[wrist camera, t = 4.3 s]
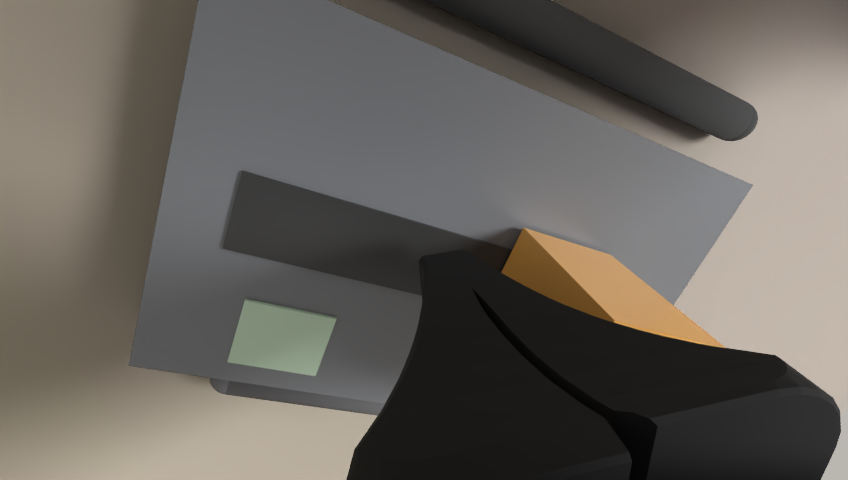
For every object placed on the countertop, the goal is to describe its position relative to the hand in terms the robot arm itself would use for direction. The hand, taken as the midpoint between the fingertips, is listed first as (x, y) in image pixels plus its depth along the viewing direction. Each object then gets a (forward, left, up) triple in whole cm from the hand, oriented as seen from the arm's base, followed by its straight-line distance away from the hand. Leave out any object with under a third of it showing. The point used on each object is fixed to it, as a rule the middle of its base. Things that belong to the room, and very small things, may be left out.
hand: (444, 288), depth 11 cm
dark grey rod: (-2, -6, -3) cm, 8 cm away
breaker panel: (-1, 0, -3) cm, 4 cm away
